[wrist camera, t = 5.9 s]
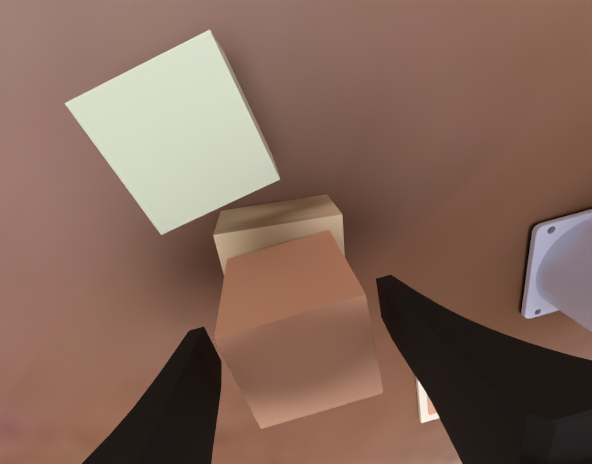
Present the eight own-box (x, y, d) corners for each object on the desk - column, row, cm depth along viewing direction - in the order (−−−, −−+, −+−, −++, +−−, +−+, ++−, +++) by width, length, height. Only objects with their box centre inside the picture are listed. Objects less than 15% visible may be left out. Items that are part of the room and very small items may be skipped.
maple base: (325, 192, 17) (342, 214, 14) (332, 279, 19) (348, 314, 16) (221, 209, 16) (213, 235, 13) (242, 295, 19) (239, 334, 16)
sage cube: (225, 53, 13) (209, 29, 9) (272, 155, 15) (280, 179, 11) (128, 102, 13) (64, 103, 9) (188, 195, 16) (161, 234, 11)
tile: (473, 358, 24) (478, 364, 23) (471, 403, 26) (476, 410, 26) (415, 375, 24) (419, 381, 23) (419, 418, 26) (422, 425, 26)
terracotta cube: (329, 229, 14) (365, 294, 9) (346, 309, 16) (383, 392, 11) (227, 259, 14) (214, 338, 9) (259, 334, 16) (261, 429, 11)
